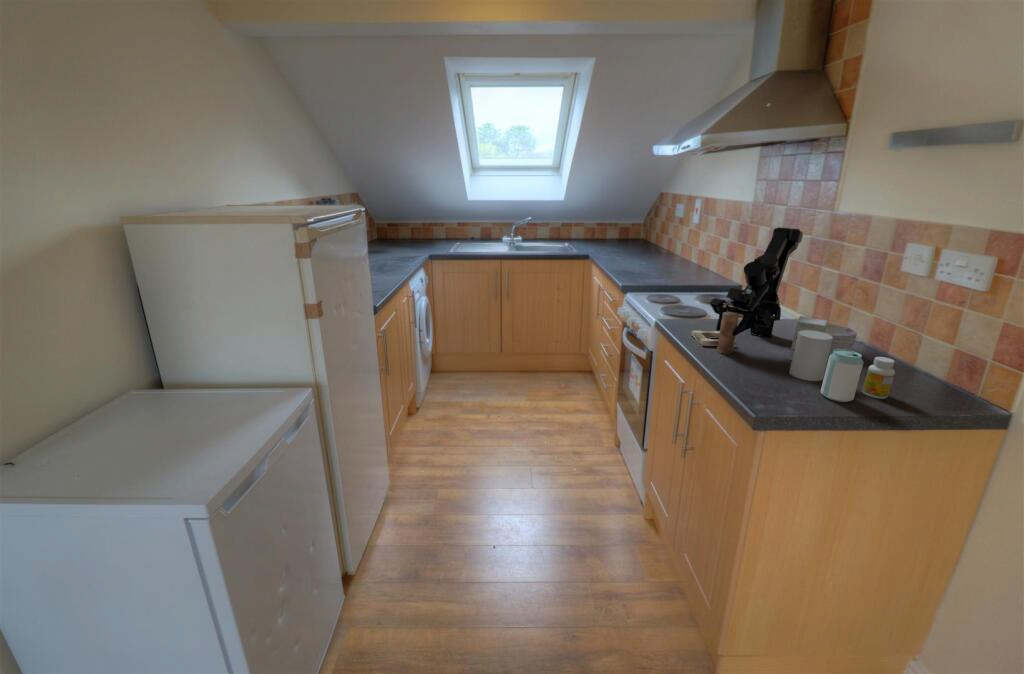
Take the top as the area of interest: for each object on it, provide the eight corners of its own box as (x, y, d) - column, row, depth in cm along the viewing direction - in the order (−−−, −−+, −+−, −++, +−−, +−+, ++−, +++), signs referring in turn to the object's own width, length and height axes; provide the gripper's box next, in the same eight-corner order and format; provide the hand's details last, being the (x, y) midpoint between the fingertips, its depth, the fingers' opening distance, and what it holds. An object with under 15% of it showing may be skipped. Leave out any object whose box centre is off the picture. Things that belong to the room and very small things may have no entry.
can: (838, 390, 123) (849, 347, 119) (860, 402, 117) (872, 357, 113) (813, 391, 122) (824, 348, 119) (834, 404, 116) (846, 358, 112)
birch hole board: (722, 336, 165) (723, 331, 164) (735, 347, 154) (736, 341, 154) (690, 335, 165) (691, 330, 165) (701, 346, 155) (702, 340, 154)
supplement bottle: (856, 390, 124) (866, 355, 121) (875, 389, 124) (885, 355, 121) (873, 399, 119) (883, 363, 116) (893, 399, 119) (904, 363, 116)
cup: (818, 372, 135) (828, 332, 132) (826, 382, 128) (836, 341, 124) (786, 368, 138) (795, 328, 134) (792, 378, 131) (801, 337, 127)
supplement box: (787, 360, 144) (796, 320, 140) (791, 353, 150) (799, 315, 146) (815, 366, 140) (825, 325, 136) (818, 359, 146) (827, 319, 142)
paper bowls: (795, 341, 162) (799, 318, 160) (848, 348, 155) (854, 325, 153) (796, 354, 149) (801, 330, 147) (854, 363, 143) (860, 338, 140)
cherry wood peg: (732, 350, 151) (739, 313, 147) (731, 355, 147) (738, 316, 143) (717, 348, 153) (723, 311, 149) (715, 352, 149) (722, 314, 145)
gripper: (717, 273, 152) (690, 310, 150) (774, 284, 137) (745, 325, 135) (728, 294, 159) (702, 330, 157) (783, 306, 144) (756, 346, 142)
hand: (725, 332), depth 147 cm, fingers open, 5 cm apart
